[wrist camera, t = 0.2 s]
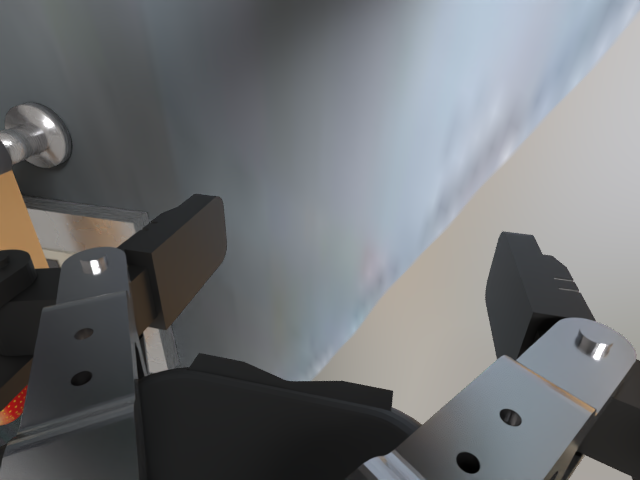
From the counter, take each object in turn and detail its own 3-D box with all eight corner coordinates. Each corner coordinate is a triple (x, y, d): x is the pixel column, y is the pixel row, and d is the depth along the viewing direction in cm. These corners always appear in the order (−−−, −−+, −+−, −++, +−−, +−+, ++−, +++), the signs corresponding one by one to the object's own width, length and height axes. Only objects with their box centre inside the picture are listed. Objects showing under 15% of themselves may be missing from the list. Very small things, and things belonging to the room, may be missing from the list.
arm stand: (6, 100, 33) (-49, 114, 29) (61, 105, 32) (12, 120, 28) (27, 160, 36) (-20, 180, 32) (79, 166, 35) (36, 188, 31)
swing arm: (-43, 127, 29) (-88, 140, 26) (1, 131, 28) (-41, 145, 26) (71, 393, 43) (49, 418, 41) (102, 400, 43) (81, 426, 40)
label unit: (-11, 191, 38) (-34, 201, 36) (147, 212, 35) (130, 225, 34) (50, 335, 48) (34, 350, 46) (179, 361, 45) (167, 378, 43)
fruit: (12, 379, 54) (-46, 433, 48) (7, 353, 52) (-56, 407, 45) (50, 394, 54) (-3, 451, 47) (47, 369, 51) (-11, 425, 45)
